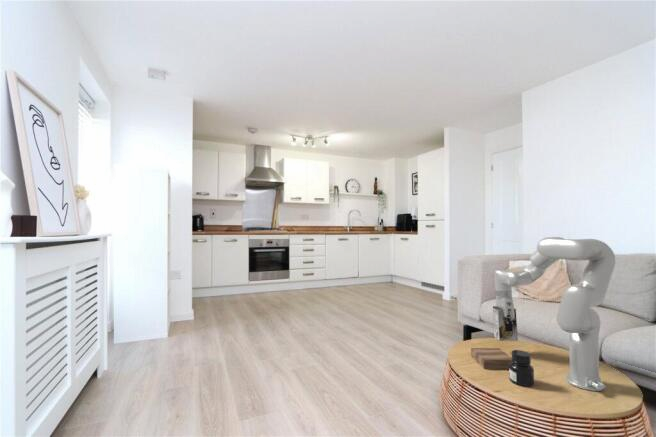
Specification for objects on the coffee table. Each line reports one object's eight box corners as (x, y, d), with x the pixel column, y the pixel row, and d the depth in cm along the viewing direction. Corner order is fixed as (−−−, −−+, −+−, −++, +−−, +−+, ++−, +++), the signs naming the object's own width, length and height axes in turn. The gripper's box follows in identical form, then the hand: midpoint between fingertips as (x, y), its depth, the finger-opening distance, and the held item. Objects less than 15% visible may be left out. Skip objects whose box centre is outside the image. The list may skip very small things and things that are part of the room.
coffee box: (512, 337, 165) (510, 305, 166) (518, 341, 159) (516, 308, 159) (493, 336, 166) (492, 305, 167) (499, 341, 159) (497, 308, 160)
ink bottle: (510, 374, 139) (510, 347, 139) (534, 380, 134) (533, 351, 134) (508, 383, 131) (507, 354, 131) (533, 390, 126) (533, 359, 126)
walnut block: (515, 368, 144) (515, 360, 144) (484, 368, 144) (484, 359, 145) (499, 356, 158) (499, 348, 158) (471, 356, 158) (471, 348, 159)
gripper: (520, 297, 155) (522, 334, 154) (502, 290, 172) (503, 324, 171) (505, 297, 155) (506, 334, 154) (488, 291, 172) (489, 324, 171)
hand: (505, 328), depth 162 cm, fingers closed on coffee box, 6 cm apart
